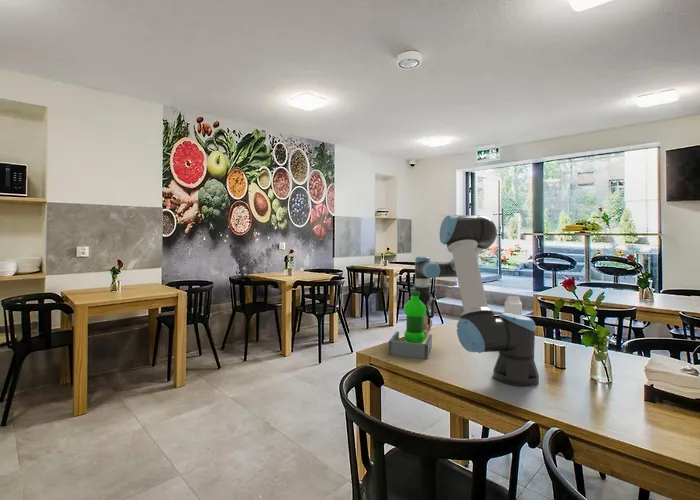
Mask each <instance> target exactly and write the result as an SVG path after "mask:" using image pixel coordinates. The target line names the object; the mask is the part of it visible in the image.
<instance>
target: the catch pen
mask: <svg viewBox="0 0 700 500" xmlns="http://www.w3.org/2000/svg"><path fill="white" fill-rule="evenodd" d="M432 347H433V335H432V334H429V335H427V338H426V341H425V343H422V344H421V343H412V342H407V341H402V340H400V332H399V331H395V332H394V334H393V335H392V337H391V338H390V339H389V340H388V355H389V356H395V355H396V356H397V357H398V356H399V357H406V358H412V359H413V358H415V359H421V360H422V359H423V360H428V358H429V356H430V354H431V352H432V351H431V350H432Z"/></svg>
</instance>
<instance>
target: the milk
mask: <svg viewBox="0 0 700 500" xmlns="http://www.w3.org/2000/svg"><path fill="white" fill-rule="evenodd" d="M503 309H504V310H503V311H504V312H503V313H512V314H517V315H522V316H523V303H522V301H521V298H520V296H519V295H517V296H514V295H513V296H511V295H509V296H507V297H506V300H505V301H504V308H503Z"/></svg>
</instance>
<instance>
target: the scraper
mask: <svg viewBox="0 0 700 500" xmlns="http://www.w3.org/2000/svg"><path fill="white" fill-rule="evenodd" d="M426 318H427V313H426V314H425V315H424V323H423V332H424V334H425V339H427V338H428V336H429V335H428V334H429V330H431V328H432V326H433V318H430V325H428V327H426Z"/></svg>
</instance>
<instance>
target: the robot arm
mask: <svg viewBox="0 0 700 500" xmlns="http://www.w3.org/2000/svg"><path fill="white" fill-rule="evenodd" d="M497 236H498V229H497V226H496V224H495V222H494V221H493V220H491V219H490V218H489V217H487V216H484V215H477V214H476V215H471V214H470V215H468V214H467V215H464V214H463V215H462V214H461V215H458V214H454V215H453V214H452V215H450V214H449V215H446V216H445V217H444V218H443V220H442V222H441V224H440V228H439V242H440V244H442V245H444V246H445V245H446V247H447V251H448V252H449V253H451V255H452V257H453V258H452V259H451V260H450V261H443V262H442V261H434V262H433V261H432V262H431V259H430V257H428V256H417V257H415V259H414V260H415V262H414V276H415V277H414V285H415V286H414V291H420V296H419V300H421V301H422V302H423V303H424V304H425V306H426V308H427V311H426V313H427V318H426V327H428V325H430V319H433V318H434V316H435V301H436V298H435V297H431V294H430V287H429V286H431V285H430V281H431V280H430V279H436V278H457V283H458V288H459V293H460V298H461V304H462V307H463V308H462V309H463V311H462V313H461V315H460V319H459V320H458V321H457V324H456V333H457V338H458V341H459V343H460V345H461V346H462V347H463V349H464V350H465V351H466V352H470V353H478V354H481V353H491V352H498V356H497V360H496V362H495V363H494V366H493V377H494V379H496V380H497V381H499V382H501V383H504V384H506V385H510V386H514V387H515V386H516V387H533V386H534V387H535V386H537V385H538V384H539V383H540V375H539V372H538V368H537V365H536V361H535V345H536V344H535V343H536V342H535V340H536V338H535V337H536V332H537V331H536V322H535V320H533V319H532V318H531V317H528V316H527V315H526V316H525V315H523V314H522V315H517V314H512V313H504V312H501V313H500V315H499V317H496V318H495V312H494V311H493V310H492V309H491V308H489V307H488V302H487V298H486V297H487V296H486V293H485V289H484V284H483V280H482V275H481V271H480V267H479V262H478V258H477V257H479V255H480V254H481V253H482V252H483V251H484V250H486V249H487V250H488V249H489V248H490V247H491V246H492V245H493V244H494V243H495V241H496V239H497ZM411 299H412V296H410V297H409V298H408V301H409V300H411ZM429 301H430V310H429V305H428V302H429Z"/></svg>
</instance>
